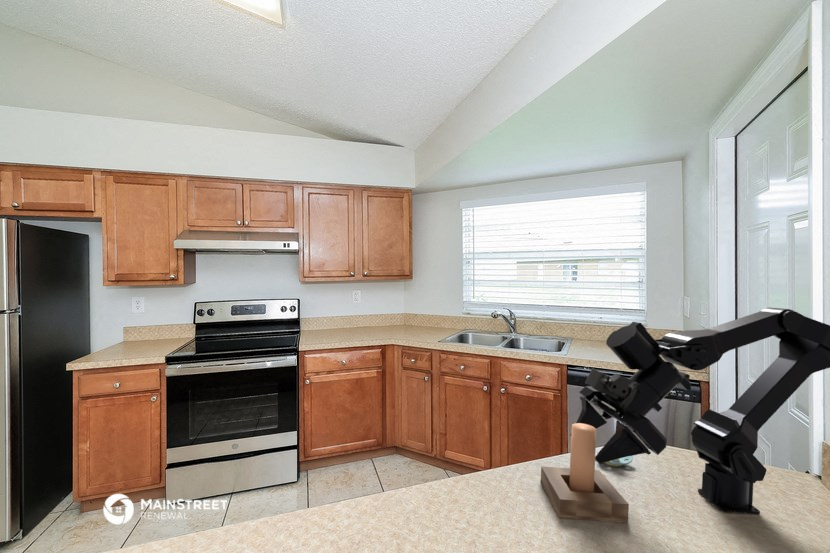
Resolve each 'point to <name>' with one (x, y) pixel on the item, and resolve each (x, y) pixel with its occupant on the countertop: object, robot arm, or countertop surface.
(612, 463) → the pacifier
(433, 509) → the countertop surface
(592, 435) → the peg
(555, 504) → the socket block
